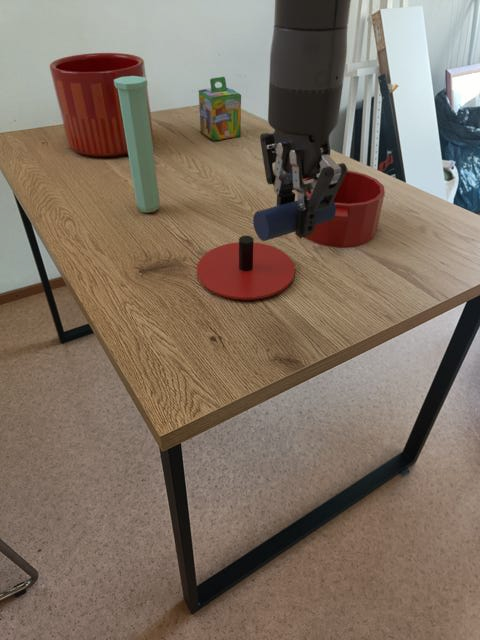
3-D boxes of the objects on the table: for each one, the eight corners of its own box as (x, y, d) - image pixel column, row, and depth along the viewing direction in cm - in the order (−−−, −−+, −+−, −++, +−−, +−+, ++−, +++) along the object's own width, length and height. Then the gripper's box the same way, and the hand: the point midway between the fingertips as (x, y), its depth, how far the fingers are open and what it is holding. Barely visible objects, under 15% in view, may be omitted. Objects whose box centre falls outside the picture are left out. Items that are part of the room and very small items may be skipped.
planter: (135, 125, 137) (123, 49, 124) (168, 148, 123) (159, 65, 110) (59, 139, 128) (38, 58, 115) (84, 166, 113) (64, 77, 100)
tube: (316, 212, 60) (320, 188, 58) (333, 225, 58) (338, 200, 56) (252, 231, 57) (253, 206, 54) (267, 246, 54) (270, 220, 52)
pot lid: (298, 251, 83) (301, 219, 79) (289, 308, 71) (293, 273, 66) (209, 243, 85) (207, 211, 81) (185, 296, 73) (182, 262, 69)
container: (168, 211, 95) (153, 80, 79) (144, 219, 92) (124, 86, 76) (153, 201, 99) (135, 74, 82) (129, 209, 96) (106, 79, 79)
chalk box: (213, 142, 127) (211, 84, 117) (199, 132, 133) (196, 76, 123) (242, 136, 130) (242, 80, 120) (227, 127, 136) (226, 72, 126)
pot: (373, 206, 97) (381, 167, 92) (378, 258, 81) (388, 216, 76) (300, 200, 99) (304, 162, 94) (291, 250, 83) (295, 208, 78)
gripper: (383, 87, 43) (354, 245, 54) (296, 60, 52) (286, 199, 63) (319, 99, 40) (302, 263, 51) (239, 68, 49) (240, 212, 60)
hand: (294, 227), depth 57 cm, fingers closed on tube, 3 cm apart
